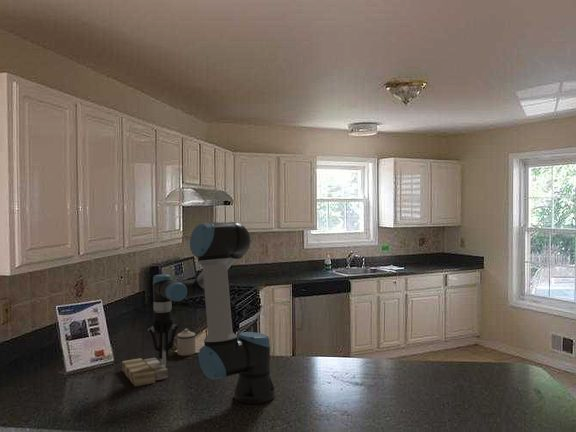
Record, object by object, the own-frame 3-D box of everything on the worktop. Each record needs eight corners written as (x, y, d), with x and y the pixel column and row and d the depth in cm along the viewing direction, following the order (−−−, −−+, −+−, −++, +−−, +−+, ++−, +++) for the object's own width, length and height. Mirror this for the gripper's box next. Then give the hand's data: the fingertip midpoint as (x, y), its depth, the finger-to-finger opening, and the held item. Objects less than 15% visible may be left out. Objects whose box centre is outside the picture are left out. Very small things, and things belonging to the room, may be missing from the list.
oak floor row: (157, 382, 186) (157, 372, 186) (134, 386, 181) (134, 376, 181) (142, 366, 205) (142, 357, 205) (122, 370, 200) (122, 361, 200)
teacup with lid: (199, 351, 227) (199, 327, 227) (188, 356, 218) (188, 332, 218) (179, 348, 231) (179, 325, 231) (167, 354, 223) (167, 329, 223)
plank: (143, 368, 203) (143, 359, 203) (155, 366, 206) (155, 357, 206) (155, 381, 188) (155, 371, 188) (167, 378, 191) (167, 369, 190)
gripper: (174, 307, 205) (175, 360, 205) (144, 311, 198) (145, 366, 198) (180, 310, 198) (181, 365, 198) (149, 314, 191) (150, 371, 191)
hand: (163, 365), depth 198 cm, fingers closed
